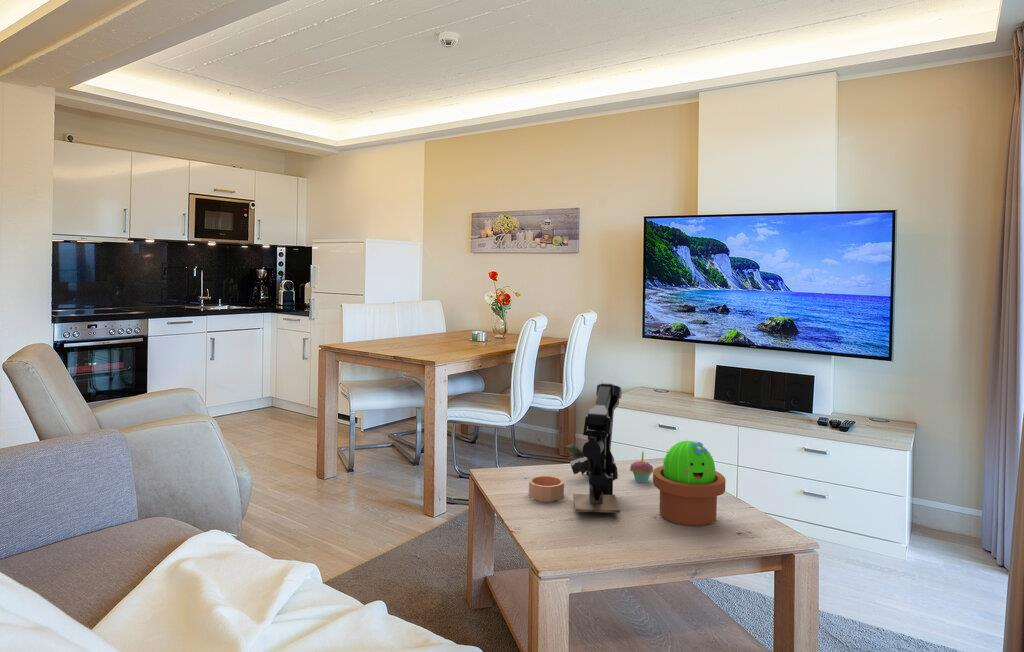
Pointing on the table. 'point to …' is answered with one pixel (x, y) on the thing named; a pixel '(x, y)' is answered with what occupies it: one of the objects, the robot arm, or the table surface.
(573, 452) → the bird figurine
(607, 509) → the lid
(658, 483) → the potted cactus
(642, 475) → the cupcake
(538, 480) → the bowl
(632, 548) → the table surface
